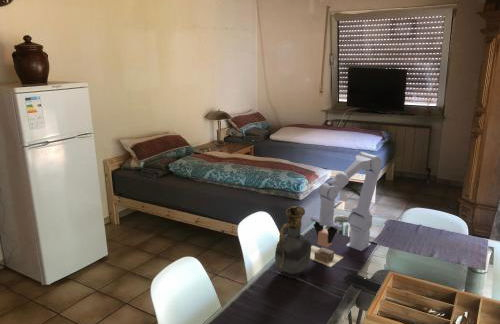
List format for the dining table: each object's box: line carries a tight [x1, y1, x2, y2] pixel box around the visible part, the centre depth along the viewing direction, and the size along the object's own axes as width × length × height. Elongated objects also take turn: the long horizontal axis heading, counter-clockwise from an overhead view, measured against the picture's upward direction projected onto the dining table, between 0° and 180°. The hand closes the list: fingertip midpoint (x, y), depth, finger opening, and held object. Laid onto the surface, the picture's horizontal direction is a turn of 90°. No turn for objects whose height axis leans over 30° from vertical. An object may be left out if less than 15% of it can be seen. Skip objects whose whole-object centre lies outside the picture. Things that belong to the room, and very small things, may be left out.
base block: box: [314, 246, 335, 263], centre depth 175 cm, size 6×6×3 cm
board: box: [310, 245, 344, 268], centre depth 178 cm, size 11×16×1 cm
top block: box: [317, 227, 333, 249], centre depth 174 cm, size 4×4×6 cm
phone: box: [342, 272, 383, 295], centre depth 157 cm, size 8×1×15 cm
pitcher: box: [274, 205, 312, 279], centre depth 159 cm, size 11×19×30 cm, turn 146°
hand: (324, 240), depth 174 cm, fingers closed on top block, 4 cm apart
